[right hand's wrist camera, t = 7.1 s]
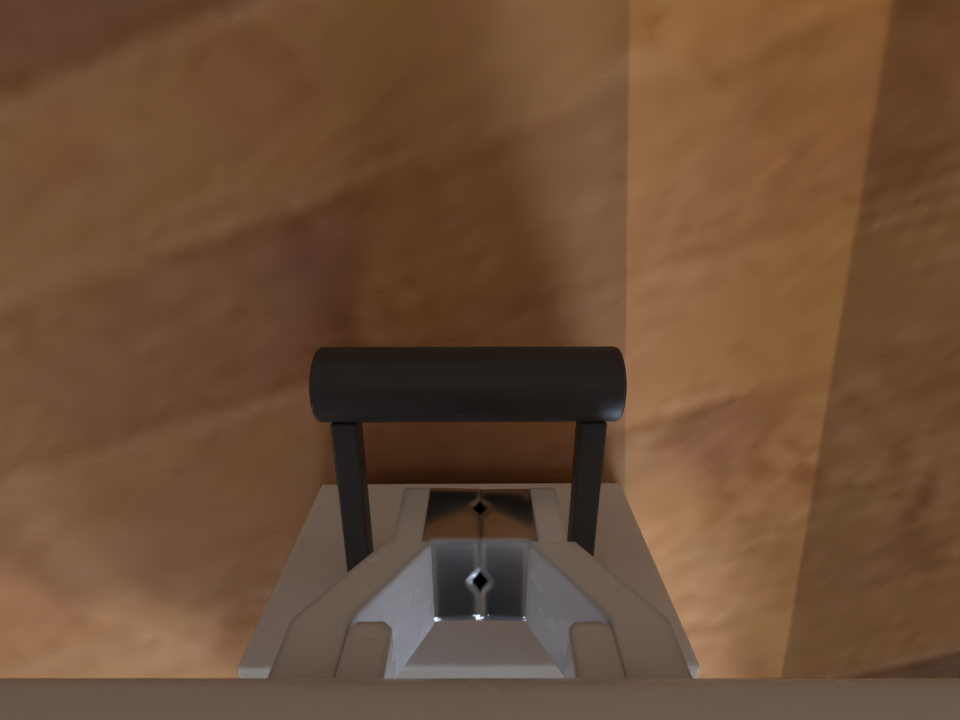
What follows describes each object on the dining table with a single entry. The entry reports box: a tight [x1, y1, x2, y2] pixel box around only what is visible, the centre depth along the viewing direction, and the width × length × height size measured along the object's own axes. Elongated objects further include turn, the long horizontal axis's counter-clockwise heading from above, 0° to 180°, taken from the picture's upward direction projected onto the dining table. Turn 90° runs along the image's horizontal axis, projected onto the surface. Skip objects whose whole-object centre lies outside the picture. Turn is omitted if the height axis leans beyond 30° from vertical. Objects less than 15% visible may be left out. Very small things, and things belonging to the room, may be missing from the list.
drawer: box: [237, 347, 699, 678], centre depth 16 cm, size 22×10×7 cm, turn 0°
